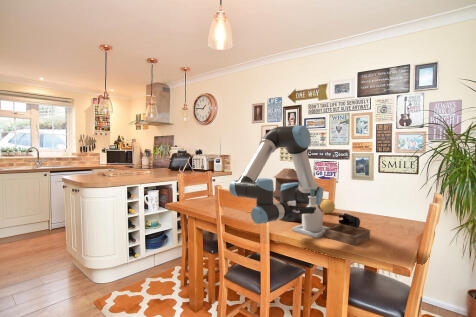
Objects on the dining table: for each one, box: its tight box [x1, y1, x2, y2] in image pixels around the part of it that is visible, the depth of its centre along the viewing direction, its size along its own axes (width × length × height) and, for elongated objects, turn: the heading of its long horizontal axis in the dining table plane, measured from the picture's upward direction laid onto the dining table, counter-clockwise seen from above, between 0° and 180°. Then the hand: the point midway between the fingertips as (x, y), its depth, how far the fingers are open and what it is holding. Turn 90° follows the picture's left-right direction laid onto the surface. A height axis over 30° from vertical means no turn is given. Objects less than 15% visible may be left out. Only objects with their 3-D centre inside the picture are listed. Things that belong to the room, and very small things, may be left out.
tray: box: [291, 224, 329, 239], centre depth 137 cm, size 15×15×2 cm
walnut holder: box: [324, 223, 371, 247], centre depth 127 cm, size 15×15×4 cm
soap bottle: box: [301, 188, 324, 232], centre depth 136 cm, size 10×10×23 cm
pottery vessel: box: [273, 168, 300, 203], centre depth 204 cm, size 26×26×30 cm
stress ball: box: [319, 198, 336, 215], centre depth 178 cm, size 10×10×10 cm
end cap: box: [338, 212, 361, 228], centre depth 147 cm, size 10×7×7 cm
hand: (305, 205), depth 132 cm, fingers open, 13 cm apart
